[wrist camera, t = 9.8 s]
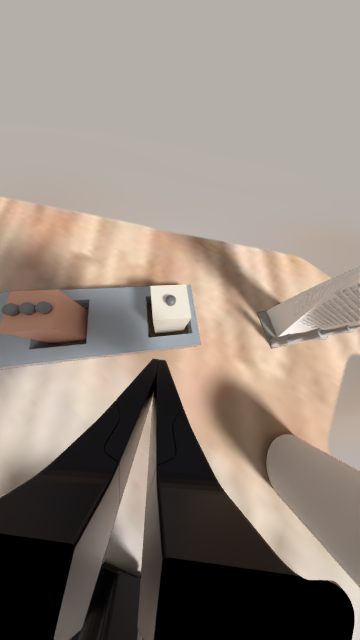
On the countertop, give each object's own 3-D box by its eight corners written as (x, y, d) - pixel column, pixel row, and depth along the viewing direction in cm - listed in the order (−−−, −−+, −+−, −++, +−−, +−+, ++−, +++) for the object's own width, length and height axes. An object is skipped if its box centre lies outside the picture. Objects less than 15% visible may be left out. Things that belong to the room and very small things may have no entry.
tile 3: (90, 312, 21) (54, 287, 14) (88, 340, 20) (48, 327, 13) (58, 314, 21) (4, 288, 14) (53, 343, 19) (-8, 331, 12)
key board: (187, 293, 25) (190, 284, 23) (196, 346, 22) (200, 344, 20) (-69, 305, 19) (-105, 296, 16) (-102, 381, 16) (-154, 384, 14)
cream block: (179, 306, 24) (186, 282, 17) (182, 331, 22) (192, 316, 15) (153, 308, 23) (150, 283, 16) (155, 333, 22) (152, 319, 15)
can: (251, 460, 19) (392, 612, 7) (281, 418, 21) (427, 486, 9) (291, 515, 17) (537, 803, 6) (319, 465, 19) (540, 607, 8)
